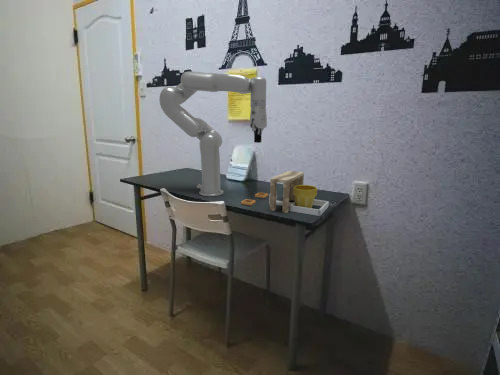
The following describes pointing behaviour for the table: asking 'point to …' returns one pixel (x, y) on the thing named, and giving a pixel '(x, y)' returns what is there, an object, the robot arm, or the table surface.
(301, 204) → the plant pot
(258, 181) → the table surface
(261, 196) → the pit tray near left
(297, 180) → the tunnel
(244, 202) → the pit tray near right
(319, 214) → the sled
